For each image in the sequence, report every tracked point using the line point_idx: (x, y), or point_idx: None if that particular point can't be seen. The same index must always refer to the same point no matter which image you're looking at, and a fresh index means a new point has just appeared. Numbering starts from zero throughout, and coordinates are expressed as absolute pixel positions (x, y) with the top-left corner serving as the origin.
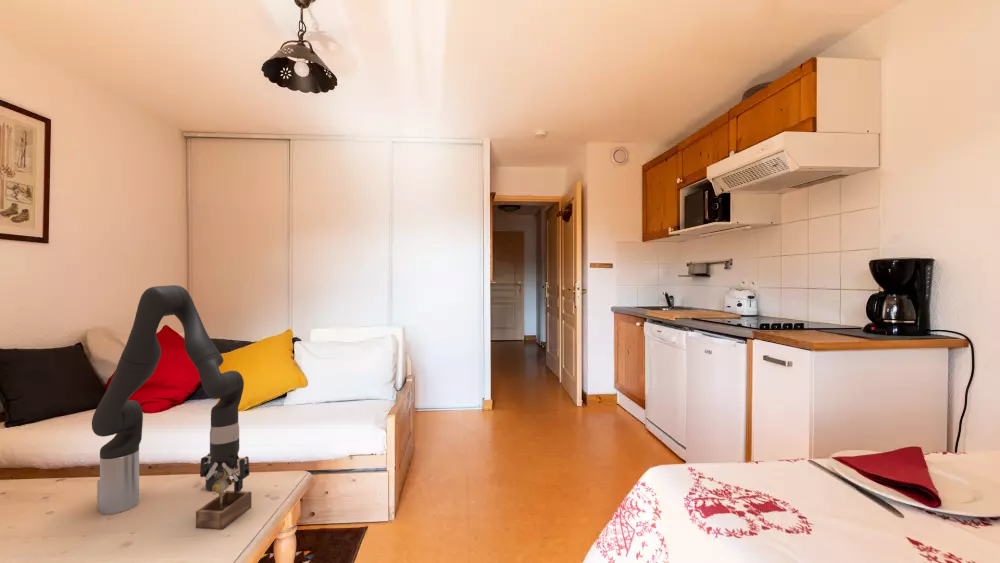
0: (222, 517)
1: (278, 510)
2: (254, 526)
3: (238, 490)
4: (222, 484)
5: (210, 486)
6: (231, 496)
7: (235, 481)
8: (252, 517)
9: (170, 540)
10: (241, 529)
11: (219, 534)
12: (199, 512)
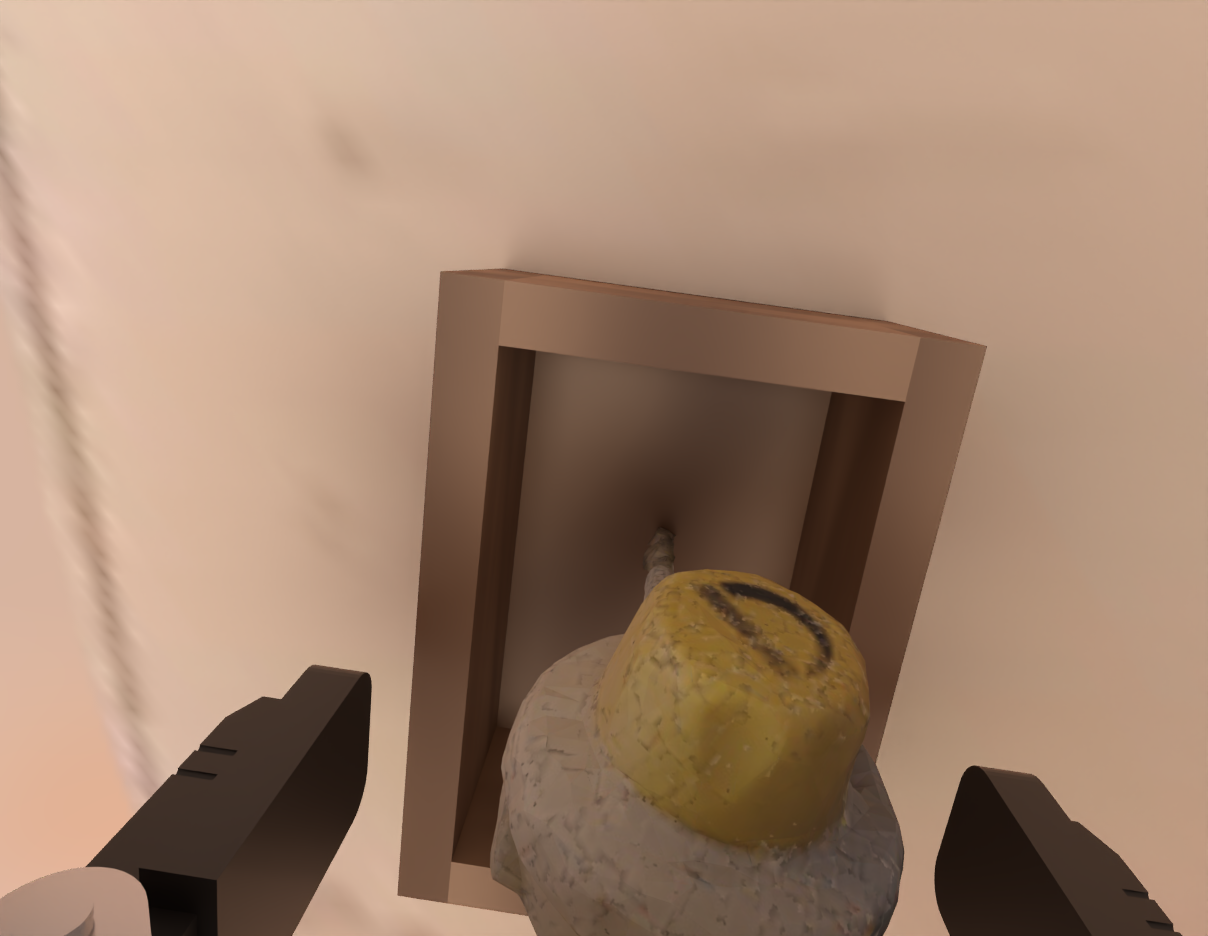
0: (465, 272)
1: (101, 662)
2: (156, 343)
3: (257, 705)
4: (565, 773)
5: (1027, 859)
6: None
7: (167, 873)
8: (311, 536)
9: (1083, 41)
10: (274, 282)
11: (485, 175)
12: (907, 337)
